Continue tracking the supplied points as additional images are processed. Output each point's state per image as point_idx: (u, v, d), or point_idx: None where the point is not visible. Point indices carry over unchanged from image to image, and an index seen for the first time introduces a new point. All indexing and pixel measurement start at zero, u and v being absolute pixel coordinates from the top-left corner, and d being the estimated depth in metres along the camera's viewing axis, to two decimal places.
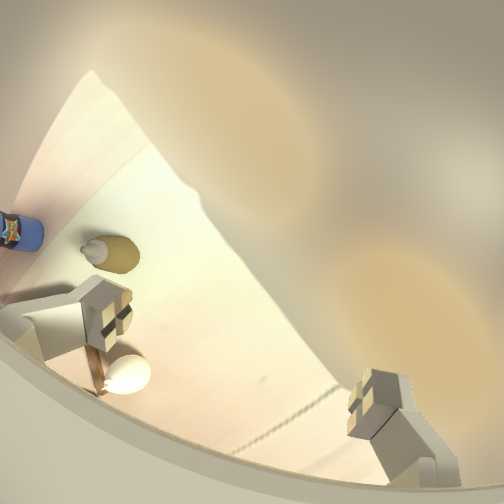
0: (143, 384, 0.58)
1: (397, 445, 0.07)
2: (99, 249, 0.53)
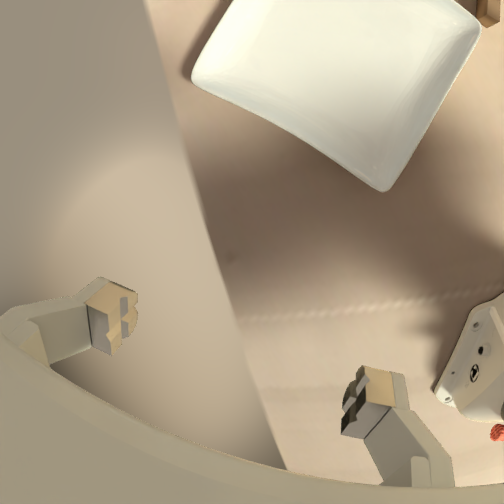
0: None
1: (390, 444, 0.07)
2: None
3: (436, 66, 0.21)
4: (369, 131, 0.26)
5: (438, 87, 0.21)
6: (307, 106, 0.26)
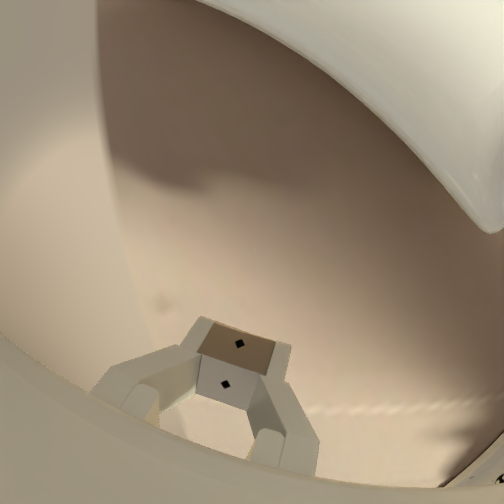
0: None
1: (261, 416, 0.07)
2: None
3: None
4: (470, 100, 0.10)
5: None
6: (350, 23, 0.10)
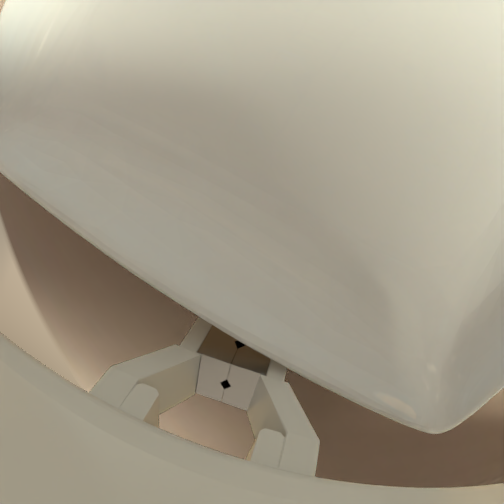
0: None
1: (262, 416, 0.07)
2: None
3: None
4: (438, 264, 0.08)
5: None
6: (239, 182, 0.08)
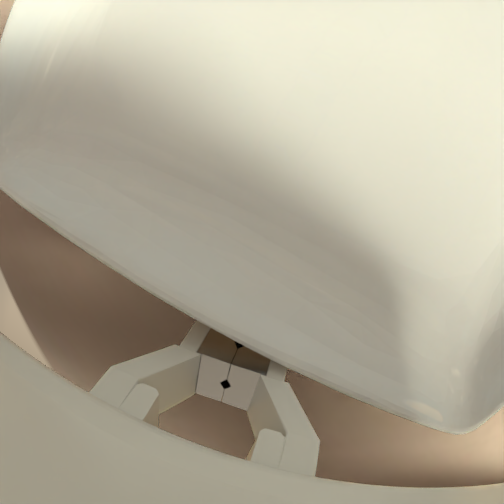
0: None
1: (262, 416, 0.07)
2: None
3: None
4: (460, 273, 0.08)
5: None
6: (266, 204, 0.08)
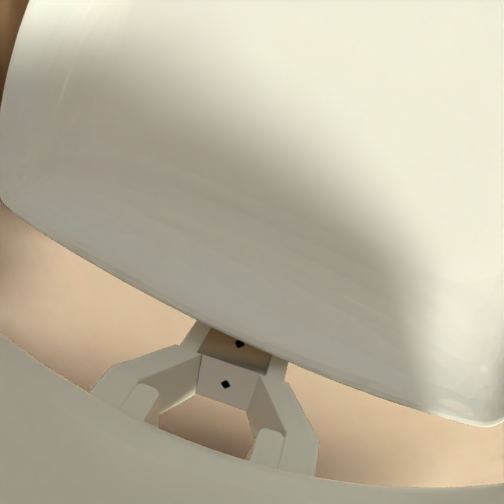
0: None
1: (261, 416, 0.07)
2: None
3: None
4: (485, 277, 0.08)
5: None
6: (304, 224, 0.09)
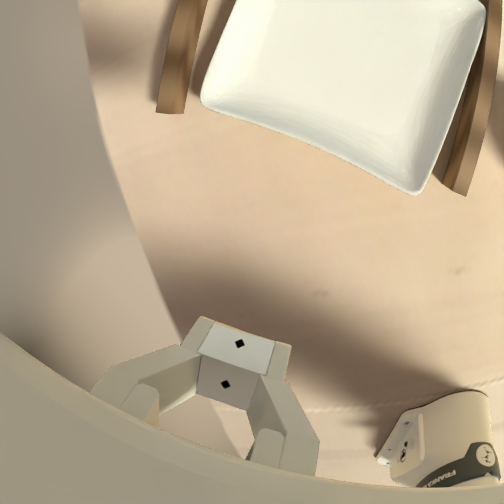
0: None
1: (261, 416, 0.07)
2: None
3: (448, 57, 0.19)
4: (392, 133, 0.24)
5: (454, 79, 0.20)
6: (326, 115, 0.25)
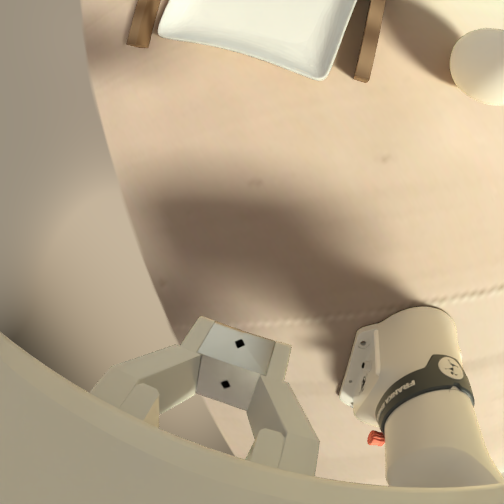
0: None
1: (261, 416, 0.07)
2: None
3: None
4: (302, 41, 0.29)
5: None
6: (249, 34, 0.29)
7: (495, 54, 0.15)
